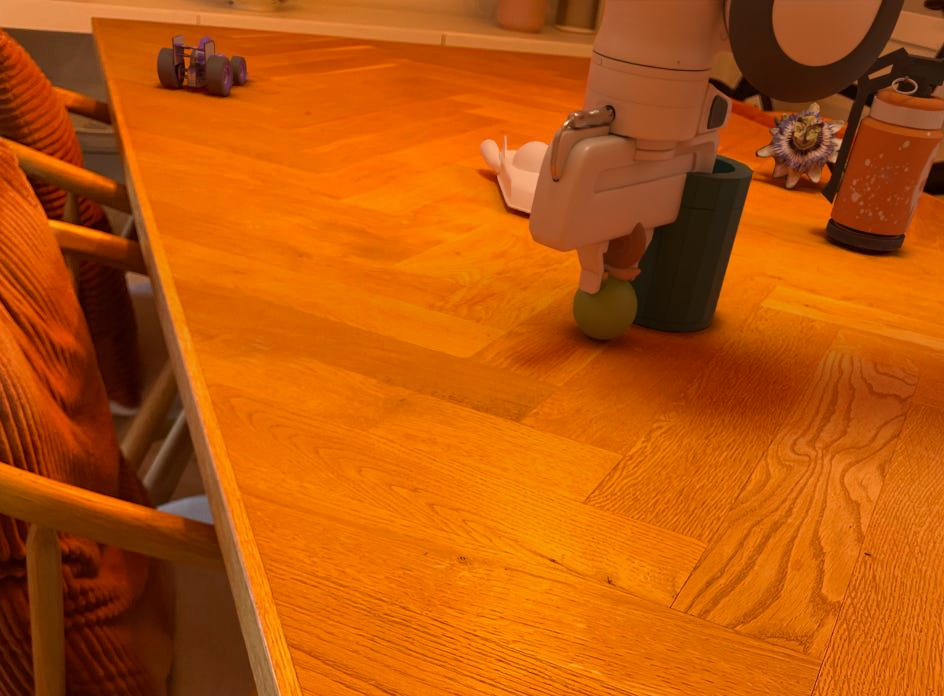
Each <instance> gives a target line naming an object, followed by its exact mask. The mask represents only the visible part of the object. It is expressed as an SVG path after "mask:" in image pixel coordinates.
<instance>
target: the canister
mask: <svg viewBox="0 0 944 696" xmlns="http://www.w3.org/2000/svg"><path fill="white" fill-rule="evenodd" d="M890 66H892V67H891V69H890V72H889V73H886V74H883V75H879V76H876V77H873V78H870V76H871V75H872V74H875V73H877V72H879V71H881V70H884V69H886V68H888V67H890ZM856 83H857V85H856V86H857V93H856V96H855V99H854V100H853V102H852V105H851V108H850V111H849V114H848V117H847V120H846V123H847V125H846V127H845V131H844V134H843V137H842V139H843V140H842V143H841V146H840V149H839V152H838V155H837V159H836V162H835V165H834V168H833V171H832V174H831V173H830V178H829V180H828V181H827V182H826V183H825V184H824V185H823V186H822V187H821V190H820V193H821V194H822V196H823V197H824V198H825V199H826V200H827V201H828V203H829V204H830V205H832V208H831V212H830V214H829V216H830V218H829V219H828V220H827V224H826V227H825V233H826V234H827V235H828V236H830V237H831V238H833V239H834V241H835V242H837V243H838V244H840V245H842V246H844V247H847V248H849V249H853V250H856V251H861V252H866V253H877V254H878V253H887V252H888V251H895V250H900V249H901V248H902V247H903V244H904V242H905V239H906V233H908V230H909V228H910V226H911V222H912V220H913V218H914V215H915V212H916V209H917V207H918V204H919V203H920V202H919V201H920V199H921V196H922V193H923V191H924V188H925V186H926V184H927V180H928V177H929V175H930V172H931V169H932V167H933V164H934V161H935V159H936V156H937V154H938V151H939V148H940V146H941V144H942V141H943V138H944V134H943V132H942V130H941V128H942V126H943V122H944V98H942V97H940V96H938V95H936V94H933V93H932V90H933V89H932V87H933V86H937V87H938V86H939V87H943V85H944V57H941V58H937V57H932V56H931V57H930V56H924V55H919V54H912V53H909V52H908V51H907V50H906V48H905V47H904V46H902V47H899V48H897V49H895V50H893V51H891V52H888V53H886V54H884V55H881V56H879V57H878V58H877V60H876V61H875V62H874V64H873V65H872V66H871V67H870V68H869V69H868V70H867V71H866V72H865V73H864V74H863V75H862V76H861V77H860V78H859V79H858V80H856ZM896 85H897V87H895V86H896ZM876 92H877V94H876V95H875V96H874V97H873V99H872V103H871V106H870V107H869V108H870V109H869V111H868V115H866V116H864V118H862V119H861V117H862V114H863V112H864V109H865V105H866V102H867V99H868V95H871V94H873V93H876ZM846 161H847V165H846V167H845V164H846ZM844 167H845V171H844V175H843V178H842V181H841V184H840V187H839V190H838V191H837V188H838V185H839V182H840V179H841V176H842V173H843V170H844Z"/></svg>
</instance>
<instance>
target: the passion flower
mask: <svg viewBox="0 0 944 696" xmlns="http://www.w3.org/2000/svg"><path fill="white" fill-rule="evenodd" d="M820 109H821V107H820V106H819V104H818V103H817V101H814V102H812V104H810V105H809V107H808V108H807V109H803V110H802V111H801V112H800V110H798V112H797V113H796V114H795V112H792V113H791V114H790V115H789V114H788V113H785V112H784V113H781V117H780V119H778V116H777V115H776V114H775V115H774V117H773V122H774V125H775V127H774V128H769V129H768V132H769V134H770V135H771V136H772V138H771V141H770V142H769V143H768V144H765V145H764V146H762V147H760V148H758V149H757V150H756V151H755V153H754V155H755V156H756V158H761V159H765V158H766V159H767V158H773V160H774V167H773V170H772V179H773V180H778V179H784V181H785V183H784V185H785V189H787V190H791V189H793V188H794V187H795V186H796V184H797V183H798V182H799V180H800V178H801V177H802V176H803V175H805V176H807V177H808V179H809V180H810V182H812V183H813V184H816V185H817V184H818V183H819V182H820V180H821V178H822V174H823V169H824V168H825V166H827V168H828V170H829V173H830V175H831V174H832V171H833V168H834V165H835V162H836V159H837V155H838V152H839V149H840V146H841V143H842V140H843V138H839V137H836V135H837V134H838V132H839V131H840V130H841V129H842V128H843V127H844V124H845V122H844V120H843V119H838V120H831V121H828V122H827V120H825V117H823V118H821V119H820V115H821V114H822V112H821V111H820ZM823 120H825V121H823ZM847 162H848V160H847V161H846V164H845V167H844V170H843V173H842V176H841V179H840V182H839V185H838V188H837V191H836V192H838V190H839V187H840V184H841V181H842V178H843V175H844V171H845V168H846V165H847Z"/></svg>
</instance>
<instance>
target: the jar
mask: <svg viewBox="0 0 944 696" xmlns="http://www.w3.org/2000/svg"><path fill="white" fill-rule="evenodd" d="M685 174H687V176H686V180H685V185H684V190H683V194H682V199H681V204H680V208H679V213H678V216H677V218H676V220H675V221H674V222H673V223H669V224H665V225H662V226H658V227H655V228H654V231H653V236H652V240H651V242H650V243H649V245H648V247H647V249H646V250H645V252H644V254H643V256H642V258H641V259H640V261H639V262H638V267H637V268H638V269H640V270H641V272H640V273H639V274H638V275H637V276H636V277H635V279H634V280H633V281H630V282H629V283H630V284H631V286H632V287H633V289H634V291H635V294H636V297H637V312H636V316H635V319H634V321H633V323H634V324H636V325H639V326H641V327H645V328H649V329H654V330H659V331H666V332H676V333H688V332H689V333H690V332H697V331H698V332H699V331H701V330H704V329H707V328H708V327H710V326H711V325H712V323H713V320H714V316H715V313H716V310H717V306H718V302H719V299H720V296H721V291H722V288H723V285H724V281H725V277H726V274H727V270H728V266H729V263H730V259H731V255H732V252H733V248H734V244H735V241H736V237H737V235H738V230H739V226H740V222H741V218H742V215H743V212H744V209H745V205H746V200H747V198H748V197H747V196H748V193H749V190H750V186H751V183H752V179H753V175H754V170H753V169H752V168H751V167H750V166H749V165H747V164H745V163H744V162H741V161H738V160H737V159H734V158H731V157H728V156H724V155H721V154H718V153H717V155H716V159H715V163H714V167H713V171H712V173H704V172H686V173H685ZM633 323H632V324H633Z"/></svg>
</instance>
